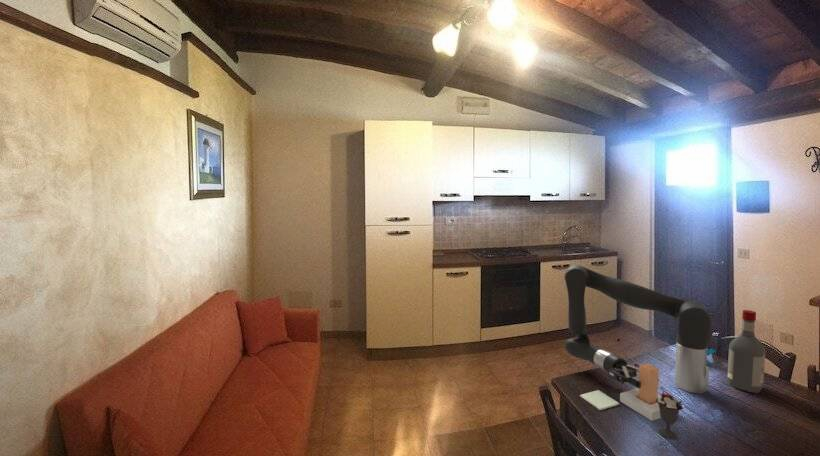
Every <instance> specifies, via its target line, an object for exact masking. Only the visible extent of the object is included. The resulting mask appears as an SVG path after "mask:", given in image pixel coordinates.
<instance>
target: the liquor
mask: <svg viewBox="0 0 820 456" xmlns="http://www.w3.org/2000/svg"><path fill="white" fill-rule="evenodd" d="M741 318H742V327H741V333H740V335H738V336H736V337H735V338H733V339H732V340H731V341H730V342H729V345H728V346H729V347H728V359H727V360H728V361H727V362H728V363H727V376H726V377H727V378H726V382H727V383H728V385H730V386H731V387H732V386H733V387H732V388H734V387H735V388H734V389H737V388H738V389H737V390H740V389H742V390H741V391H743V390H745V391H744V392H746V391H748V392H747V393H749V392H755V393H754V394H759V393H760V392H761V391H762V389H763V387H764V378H765V364H766V363H765V362H766V347H765V345H764V344H763V343H762V342H761V341H760V340H759V339H758V338H757V337H756V334H755V321H756V320H757V312H756V311H754V310H751V309H750V310H749V309H742V317H741Z"/></svg>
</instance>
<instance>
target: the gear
mask: <svg viewBox="0 0 820 456" xmlns="http://www.w3.org/2000/svg"><path fill="white" fill-rule="evenodd" d="M715 352H716V350H715V349H714V348H710V349H709V348H707V357H708V356H710V355H713V354H715ZM716 353H717V352H716ZM706 366H708V367H709V366H711V363H710V361H709V360H708V359H707V363H706Z"/></svg>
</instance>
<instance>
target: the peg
mask: <svg viewBox="0 0 820 456" xmlns="http://www.w3.org/2000/svg"><path fill="white" fill-rule="evenodd" d="M659 371H660V370H659V367H657V366H654V365H653V364H651V363H647V362H646V363H643V364H639V372H638V374H639V378H638V381H639V382H641V388H639V392H638V398H639V399H641V400H642V401H644V402H646V403H648V404H649V405H650V404H654V403H657V402H656V399H657V398H658V393H659V382H658V378H659Z"/></svg>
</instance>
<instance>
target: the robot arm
mask: <svg viewBox="0 0 820 456" xmlns="http://www.w3.org/2000/svg"><path fill="white" fill-rule="evenodd" d="M564 280H565V284H566V288H567V289H566V291H567V296H568V298H567V299H568V311H567V312H568V316H567V317H568V318H567V319H568V330H569V333H572V334H574V335H576V337H572V338H568V339H567V340H565V342H564V348H565V350H566V352H567V353H568V354H569V355H570V356H573V357H575V358H578V359H580V360H585V361H588V362H590V363H592V364H593V365H596V366H597V367H598V368H600V369H602V371H604V372H606V373H609V377H610V378H612V379H614V380H615V381H617V382H619V383H620V384H625V383H626V384H630V385H632V386H634V387H635V388H636V389H637V388H641V382H639V365H640V364H638V363H636V362H635V363H634V365H632V364H628V362H626V360H625V359H624V358H622V357H621V356H619V355H617V354H614V353H612V352H610V351H608V350H604V349H603V348H601V347H598V346H597V345H595V344H594V345H593V344H591V340H590V338H589V334H588V331H587V315H586V306H585V293H586V288H590V289H593V290H596V291H598V292H601V293H602V294H603V295H605V296H607V297H609V298H610V299H612V300H614V301H616V302H619V303H622V304H624V305H627V306H629V307H633V308H636V309H641V310H647V311H656V312H659V313H662V314H665V315H667V316H670V317H673V318H675V319H677V320H678V332H677V335H676V340H675V341H676V343H675V344H676V346H675V347H676V348H675V365H674V367H675V369H674V385H675V386H676V387H677V388H679V389H681V390H683V391H685V392H689V393H692V394H703V393H705V392H708V390H709V375H710V367H709V366H708V365H707V360H708V358H707V357H708V356H707V349H708V344H709V342H710V337H711V336H710V335H711V325H712V324H711V322H712V321H711V316H710V314H709V313H708V311H707V310H706V309H705V308H704V307H703V306H702V305H700V304H699V303H697V302H694V301H691V300H686V299H680V298H678V297H674V296H669V295H666V294H664V293H661V292H658V291H656V290H653V289H650V288H648V287H645V286H643V285H639V284H636V283H633V282H630V281H627V280H623V279H619V278H616V277H612V276H609V275H605V274H602V273H600V272H596V271H594V270H592V269H589V268H588V267H584V266H583V265H580V264H574V265H571V266H568V267H567V269H566V270H565V273H564ZM636 378H638V380H637V379H636ZM659 380H660V379H659V377H658V383H659Z"/></svg>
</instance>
